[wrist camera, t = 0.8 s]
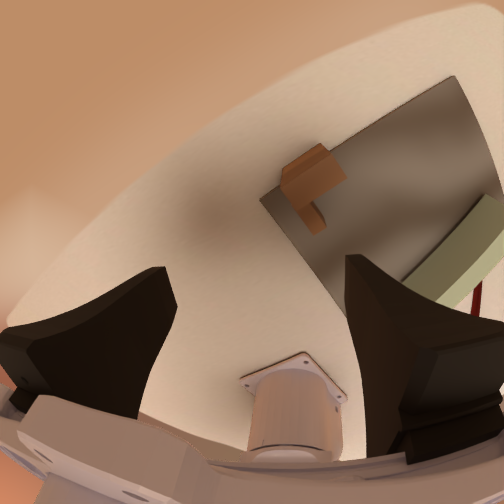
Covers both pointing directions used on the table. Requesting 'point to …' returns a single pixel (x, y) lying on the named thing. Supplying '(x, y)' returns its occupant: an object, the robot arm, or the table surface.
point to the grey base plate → (387, 189)
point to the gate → (462, 256)
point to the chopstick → (476, 300)
